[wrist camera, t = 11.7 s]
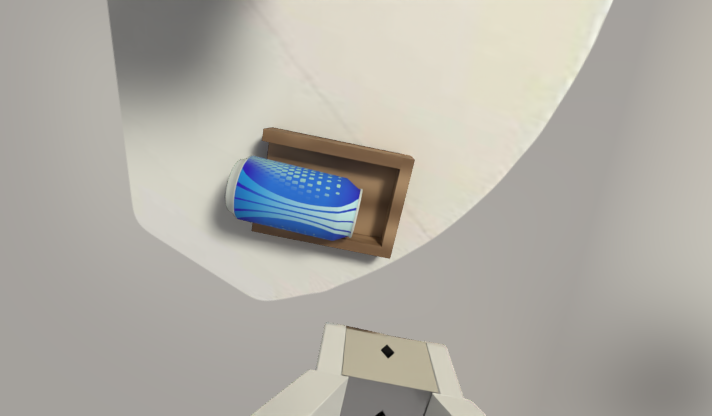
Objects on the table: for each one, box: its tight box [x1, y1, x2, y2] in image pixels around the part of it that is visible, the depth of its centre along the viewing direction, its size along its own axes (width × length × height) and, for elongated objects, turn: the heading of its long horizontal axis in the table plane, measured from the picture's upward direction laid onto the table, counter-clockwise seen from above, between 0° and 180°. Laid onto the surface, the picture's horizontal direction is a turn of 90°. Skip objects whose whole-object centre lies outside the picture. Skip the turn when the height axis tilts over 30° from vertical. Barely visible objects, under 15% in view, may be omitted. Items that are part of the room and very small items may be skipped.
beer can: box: [225, 156, 363, 241], centre depth 43 cm, size 8×8×16 cm
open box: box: [252, 127, 415, 259], centre depth 45 cm, size 14×20×4 cm
